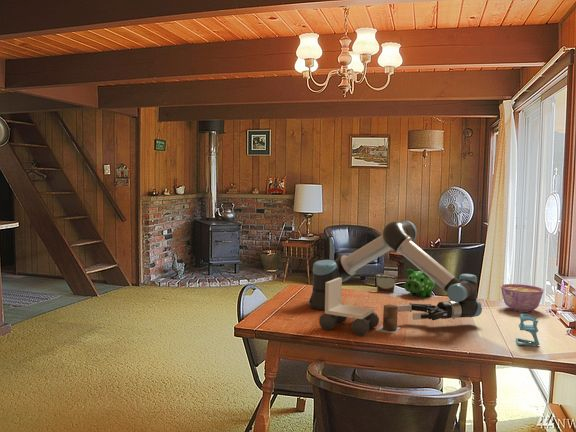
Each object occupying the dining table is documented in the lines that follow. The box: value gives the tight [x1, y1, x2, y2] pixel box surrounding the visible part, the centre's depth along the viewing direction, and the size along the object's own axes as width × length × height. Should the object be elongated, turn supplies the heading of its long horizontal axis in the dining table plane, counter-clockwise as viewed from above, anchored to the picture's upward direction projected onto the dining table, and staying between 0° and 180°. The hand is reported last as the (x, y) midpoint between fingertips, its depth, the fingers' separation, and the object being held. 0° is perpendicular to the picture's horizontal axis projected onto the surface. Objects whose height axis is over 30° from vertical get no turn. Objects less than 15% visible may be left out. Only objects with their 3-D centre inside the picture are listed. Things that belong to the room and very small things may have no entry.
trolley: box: [318, 278, 380, 337], centre depth 216 cm, size 22×14×20 cm, turn 61°
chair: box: [515, 313, 540, 345], centre depth 199 cm, size 8×8×12 cm
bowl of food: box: [500, 283, 545, 313], centre depth 254 cm, size 20×20×12 cm
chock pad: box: [375, 324, 401, 335], centre depth 216 cm, size 8×10×1 cm
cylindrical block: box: [382, 304, 399, 331], centre depth 215 cm, size 6×6×10 cm
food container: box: [375, 273, 397, 294], centre depth 294 cm, size 12×6×10 cm, turn 71°
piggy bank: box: [404, 268, 436, 298], centre depth 284 cm, size 14×18×15 cm
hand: (405, 312), depth 217 cm, fingers open, 13 cm apart
